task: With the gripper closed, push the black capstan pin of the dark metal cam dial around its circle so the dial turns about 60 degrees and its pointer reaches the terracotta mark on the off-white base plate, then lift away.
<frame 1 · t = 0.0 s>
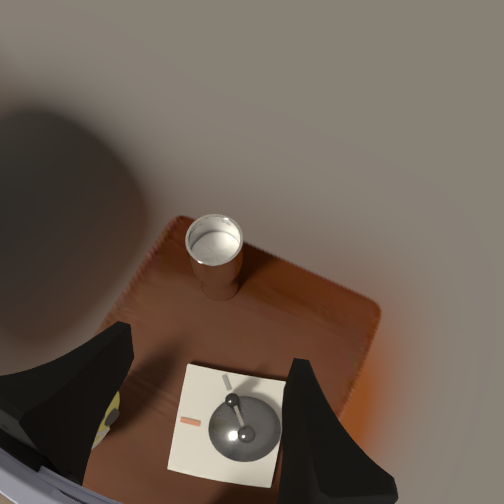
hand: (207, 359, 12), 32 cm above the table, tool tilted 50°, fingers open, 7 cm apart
emoji: (104, 419, 37), on the table
cam dial: (243, 428, 36), point 3 cm above the table, hinge at 0.0°
beer glass: (220, 283, 48), on the table
base plate: (228, 428, 38), on the table
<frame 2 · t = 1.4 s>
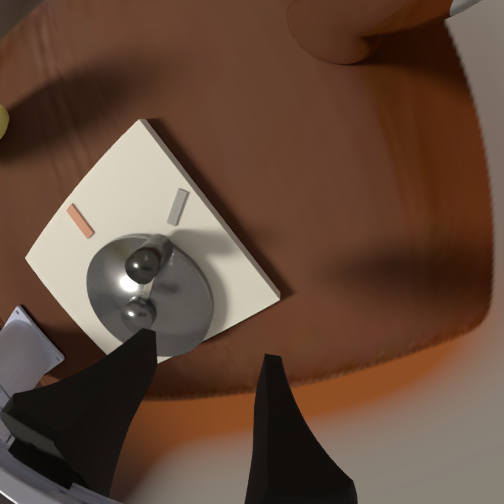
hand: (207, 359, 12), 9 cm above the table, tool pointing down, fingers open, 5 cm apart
cam dial: (138, 308, 19), point 3 cm above the table, hinge at 0.0°
beer glass: (335, 22, 14), on the table
base plate: (131, 271, 22), on the table
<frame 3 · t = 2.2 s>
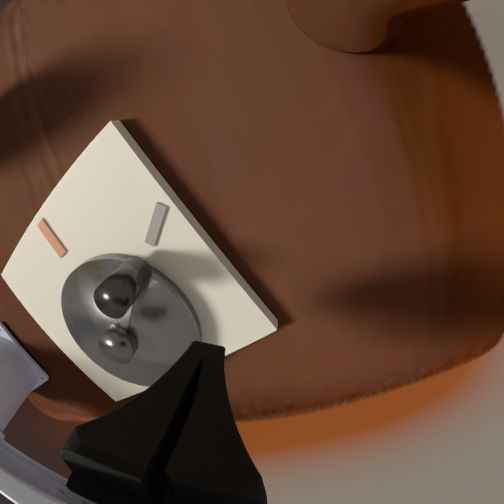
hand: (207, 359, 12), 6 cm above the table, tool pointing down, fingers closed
cam dial: (116, 339, 16), point 3 cm above the table, hinge at 0.0°
beer glass: (343, 5, 11), on the table
base plate: (110, 294, 19), on the table
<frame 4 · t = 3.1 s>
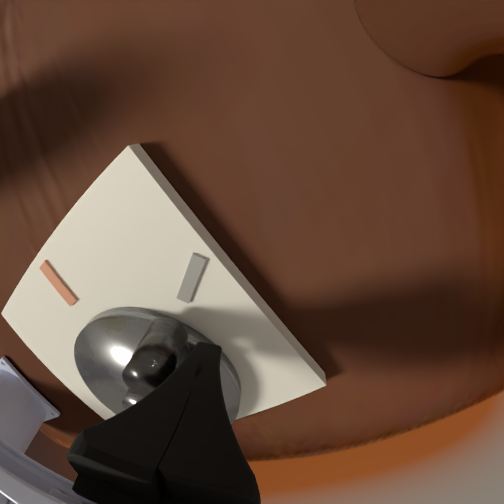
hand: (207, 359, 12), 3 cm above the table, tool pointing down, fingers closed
cam dial: (144, 401, 14), point 3 cm above the table, hinge at 0.2°, touching gripper
beer glass: (418, 16, 8), on the table
base plate: (130, 344, 16), on the table
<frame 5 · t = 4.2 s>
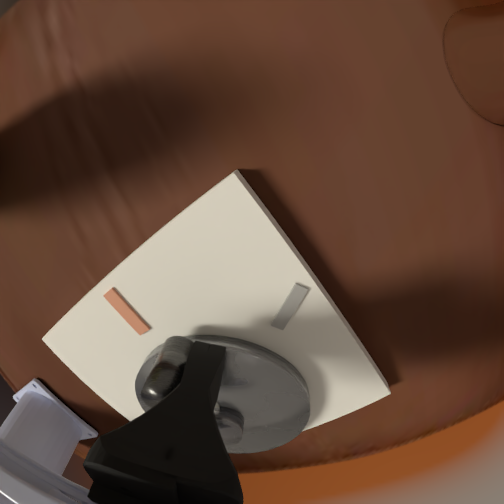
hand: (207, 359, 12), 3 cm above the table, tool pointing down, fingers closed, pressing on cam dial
cam dial: (213, 423, 14), point 3 cm above the table, hinge at 40.8°, touching gripper
beer glass: (488, 65, 9), on the table
base plate: (201, 368, 17), on the table
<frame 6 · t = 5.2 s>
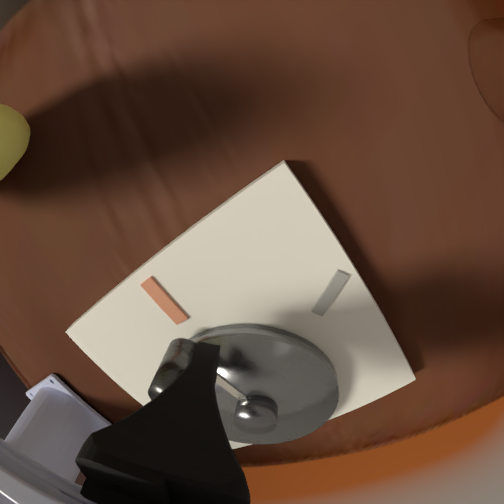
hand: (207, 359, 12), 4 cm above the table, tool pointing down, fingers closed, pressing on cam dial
emoji: (6, 155, 13), on the table
cam dial: (243, 414, 15), point 3 cm above the table, hinge at 64.8°, touching gripper
base plate: (234, 358, 17), on the table
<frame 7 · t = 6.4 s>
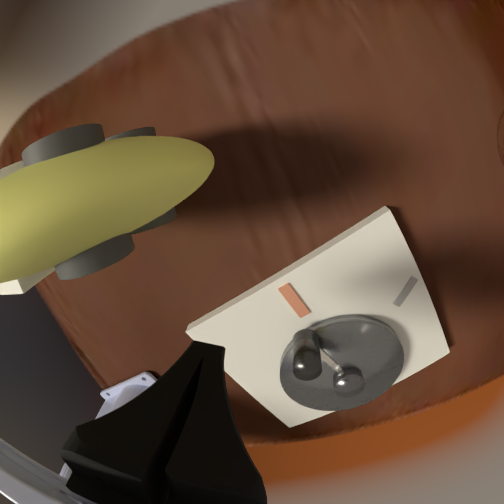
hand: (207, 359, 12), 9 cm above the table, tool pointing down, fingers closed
emoji: (132, 174, 19), on the table
cam dial: (342, 381, 20), point 3 cm above the table, hinge at 67.4°
base plate: (330, 341, 23), on the table
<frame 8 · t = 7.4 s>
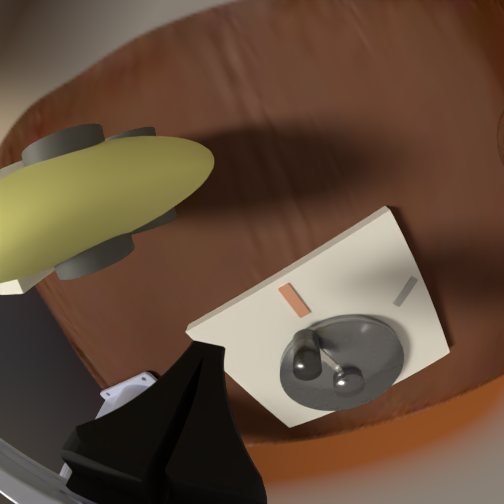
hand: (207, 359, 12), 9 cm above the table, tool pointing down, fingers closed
emoji: (132, 174, 19), on the table
cam dial: (342, 381, 20), point 3 cm above the table, hinge at 67.4°
base plate: (330, 341, 23), on the table
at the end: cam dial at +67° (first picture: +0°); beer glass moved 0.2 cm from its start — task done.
